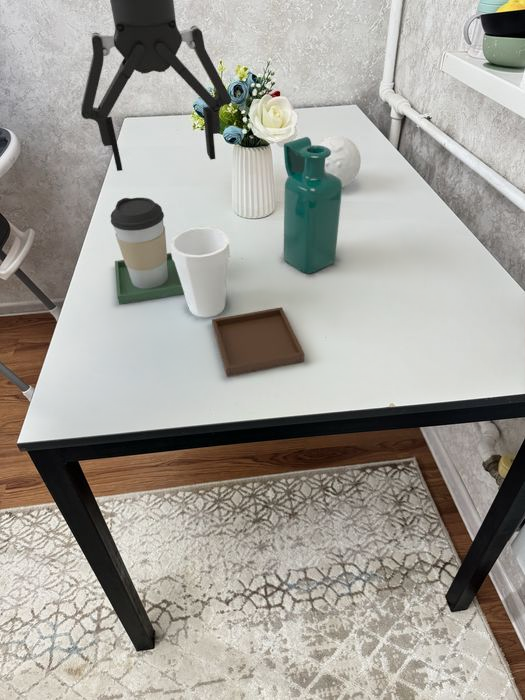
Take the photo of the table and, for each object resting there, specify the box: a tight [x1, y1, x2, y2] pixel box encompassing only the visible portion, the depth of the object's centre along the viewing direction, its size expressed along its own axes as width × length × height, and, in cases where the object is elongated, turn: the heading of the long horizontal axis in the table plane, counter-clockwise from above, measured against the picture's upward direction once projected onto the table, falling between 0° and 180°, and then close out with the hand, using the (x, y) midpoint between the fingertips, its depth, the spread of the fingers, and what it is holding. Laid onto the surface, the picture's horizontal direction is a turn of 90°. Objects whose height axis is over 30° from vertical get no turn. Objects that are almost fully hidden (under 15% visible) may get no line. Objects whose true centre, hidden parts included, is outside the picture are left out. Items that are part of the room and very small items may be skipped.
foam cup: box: [169, 226, 231, 319], centre depth 82 cm, size 10×9×13 cm
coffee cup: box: [110, 197, 168, 289], centre depth 88 cm, size 9×9×15 cm
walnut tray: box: [211, 307, 305, 377], centre depth 79 cm, size 12×12×2 cm
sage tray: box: [114, 252, 185, 305], centre depth 93 cm, size 12×12×2 cm
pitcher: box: [283, 136, 343, 274], centre depth 90 cm, size 10×8×22 cm
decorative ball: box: [317, 135, 362, 189], centre depth 118 cm, size 12×12×12 cm
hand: (166, 161), depth 72 cm, fingers open, 13 cm apart
